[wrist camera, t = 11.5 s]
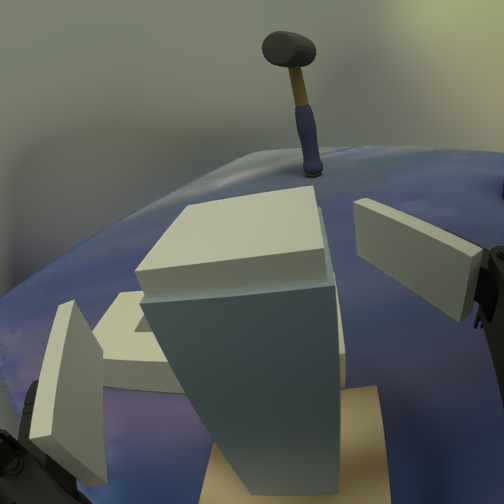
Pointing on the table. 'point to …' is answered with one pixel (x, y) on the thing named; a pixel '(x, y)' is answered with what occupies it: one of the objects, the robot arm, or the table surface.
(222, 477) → the coaster
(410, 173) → the table surface
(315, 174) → the rubber mallet
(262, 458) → the pale grey tall block
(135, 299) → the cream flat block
